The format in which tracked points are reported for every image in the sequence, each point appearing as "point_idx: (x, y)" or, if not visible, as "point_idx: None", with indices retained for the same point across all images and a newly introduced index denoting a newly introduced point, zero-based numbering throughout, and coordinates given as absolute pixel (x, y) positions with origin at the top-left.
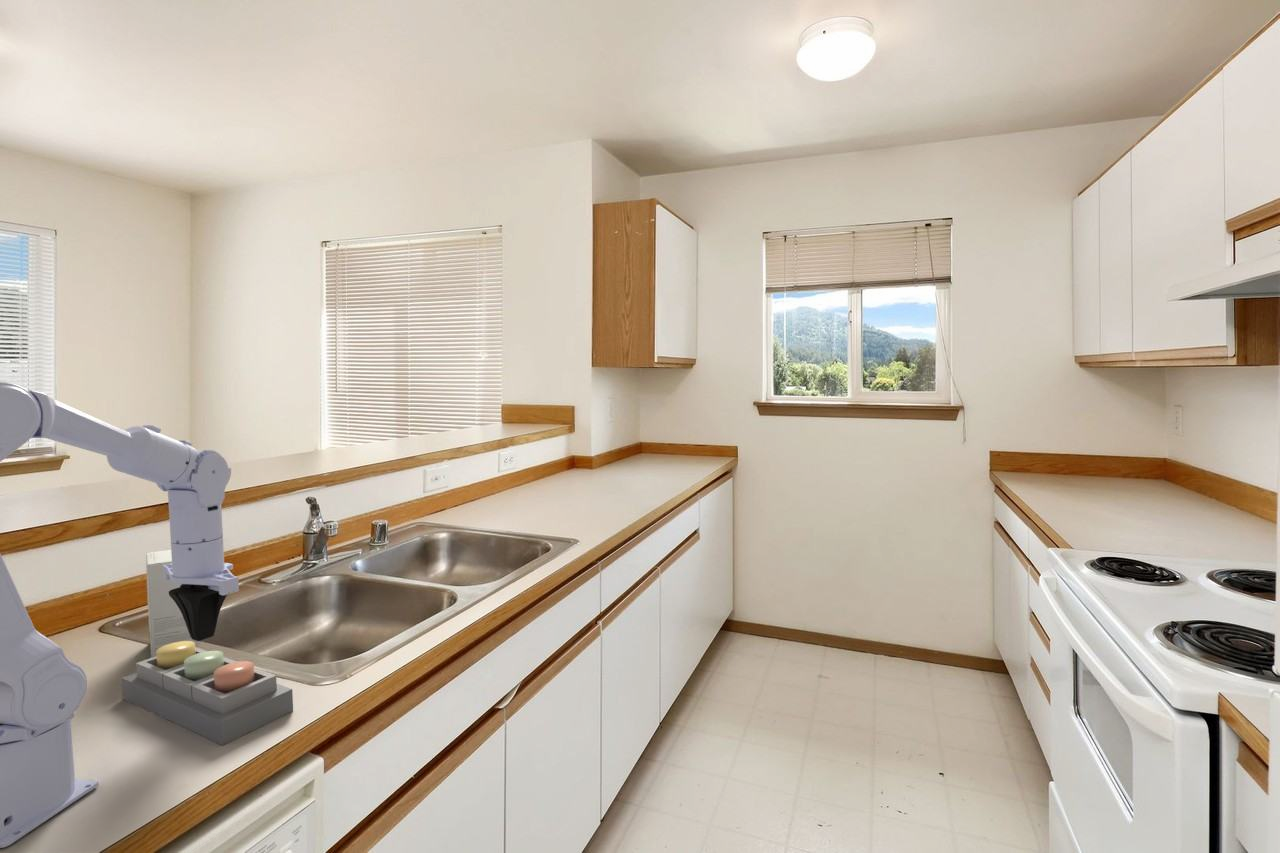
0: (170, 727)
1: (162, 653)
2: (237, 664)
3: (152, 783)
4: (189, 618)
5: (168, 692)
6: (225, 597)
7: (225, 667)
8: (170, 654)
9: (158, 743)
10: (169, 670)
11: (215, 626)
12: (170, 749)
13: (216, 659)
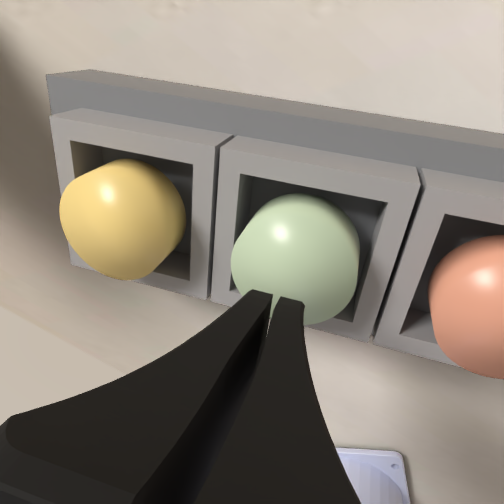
0: None
1: (125, 275)
2: (493, 296)
3: (494, 441)
4: (223, 441)
5: None
6: (348, 481)
7: (459, 321)
8: (151, 271)
9: (371, 348)
10: (203, 281)
11: (302, 327)
12: (421, 361)
13: (356, 276)
